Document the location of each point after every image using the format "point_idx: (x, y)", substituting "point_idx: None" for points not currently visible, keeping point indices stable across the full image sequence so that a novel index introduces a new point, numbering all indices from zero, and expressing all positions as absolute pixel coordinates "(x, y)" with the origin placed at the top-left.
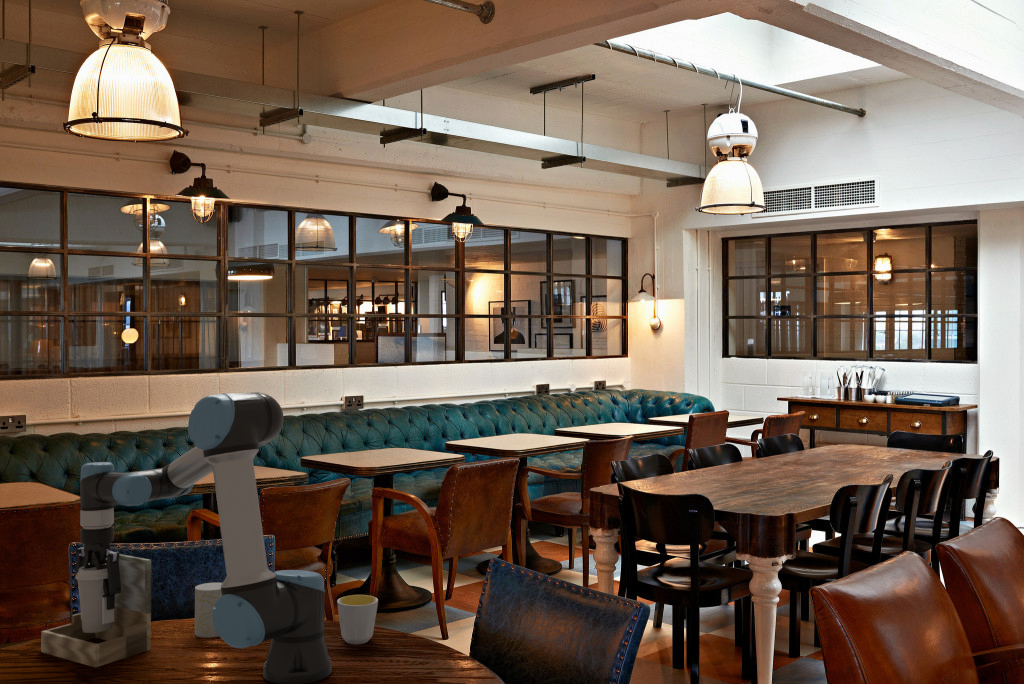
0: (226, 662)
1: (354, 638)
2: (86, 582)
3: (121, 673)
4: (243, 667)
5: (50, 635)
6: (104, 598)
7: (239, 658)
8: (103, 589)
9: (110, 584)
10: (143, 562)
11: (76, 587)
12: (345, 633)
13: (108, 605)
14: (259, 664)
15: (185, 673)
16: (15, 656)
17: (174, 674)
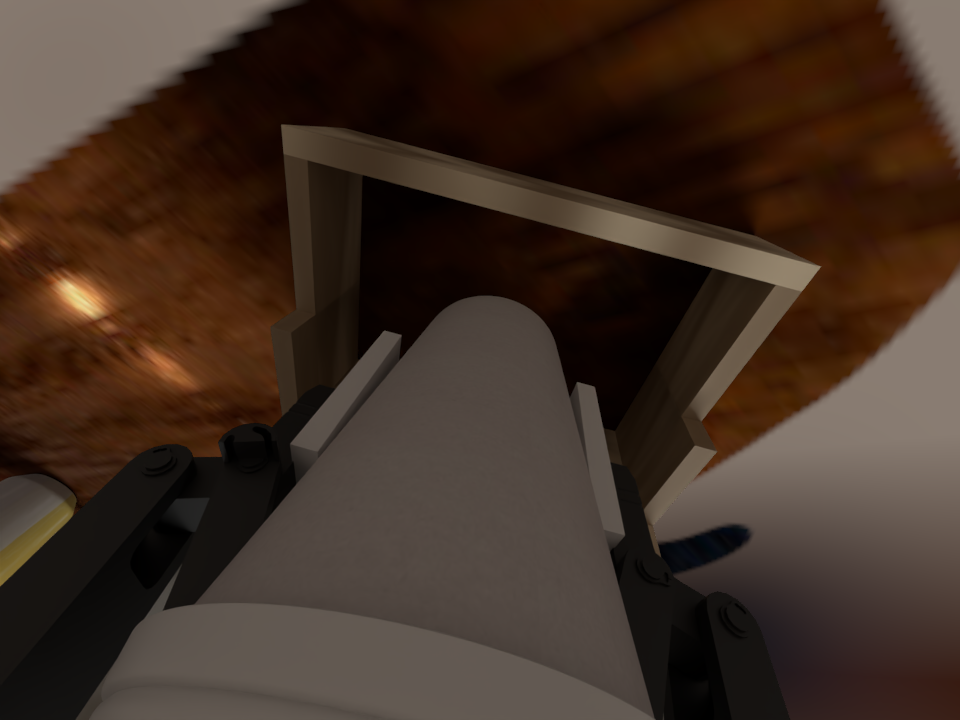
0: (75, 324)
1: (7, 479)
2: (322, 570)
3: (190, 103)
4: (3, 300)
5: (718, 238)
6: (297, 436)
7: (88, 359)
8: (266, 510)
9: (73, 543)
10: None
11: (710, 598)
12: (12, 488)
13: (308, 405)
14: (7, 331)
15: (40, 198)
16: (886, 125)
17: (50, 174)
